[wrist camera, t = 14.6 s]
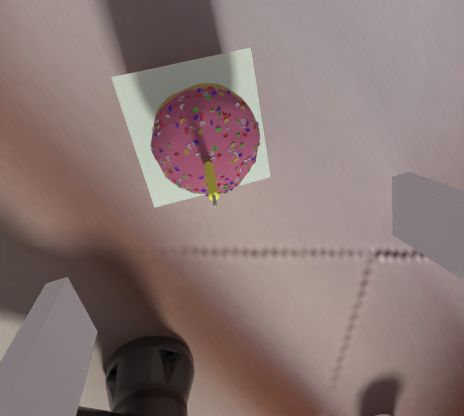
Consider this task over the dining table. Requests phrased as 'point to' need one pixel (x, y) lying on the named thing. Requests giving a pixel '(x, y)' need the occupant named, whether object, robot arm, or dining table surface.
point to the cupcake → (205, 139)
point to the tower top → (173, 81)
